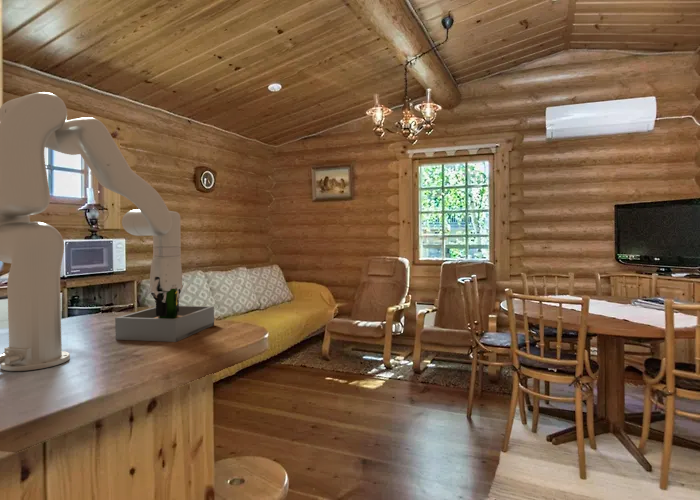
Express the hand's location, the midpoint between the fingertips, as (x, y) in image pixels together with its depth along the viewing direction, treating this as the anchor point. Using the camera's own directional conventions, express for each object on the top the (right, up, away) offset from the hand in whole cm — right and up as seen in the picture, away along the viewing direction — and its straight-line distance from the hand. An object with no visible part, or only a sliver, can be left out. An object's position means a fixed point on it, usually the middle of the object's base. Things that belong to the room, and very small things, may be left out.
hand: (167, 313), depth 128 cm
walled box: (0, -6, 0) cm, 6 cm away
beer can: (0, -4, 0) cm, 4 cm away
